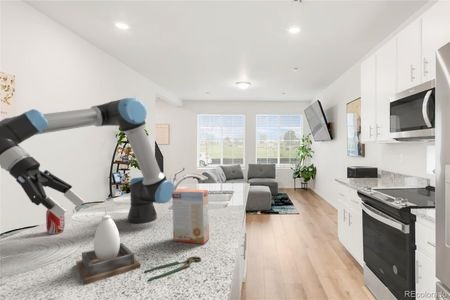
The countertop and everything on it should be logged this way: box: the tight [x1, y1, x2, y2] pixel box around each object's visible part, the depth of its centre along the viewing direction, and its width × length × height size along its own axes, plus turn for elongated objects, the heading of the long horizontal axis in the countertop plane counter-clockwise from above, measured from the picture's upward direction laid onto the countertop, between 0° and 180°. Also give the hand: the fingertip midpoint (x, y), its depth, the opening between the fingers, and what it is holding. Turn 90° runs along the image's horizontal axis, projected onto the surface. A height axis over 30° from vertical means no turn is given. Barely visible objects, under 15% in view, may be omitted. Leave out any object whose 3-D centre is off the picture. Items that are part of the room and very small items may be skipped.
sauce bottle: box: [93, 208, 121, 262], centre depth 85 cm, size 8×8×18 cm
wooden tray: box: [75, 242, 141, 285], centre depth 85 cm, size 16×16×4 cm
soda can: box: [45, 209, 66, 235], centre depth 121 cm, size 7×7×12 cm
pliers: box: [143, 256, 202, 282], centre depth 83 cm, size 20×7×1 cm, turn 125°
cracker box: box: [171, 188, 210, 245], centre depth 107 cm, size 14×6×21 cm, turn 71°
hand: (72, 209), depth 83 cm, fingers open, 13 cm apart
